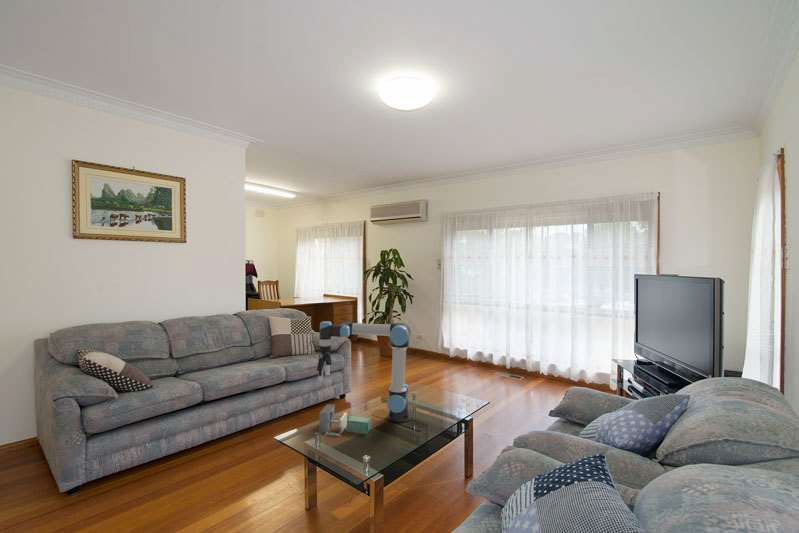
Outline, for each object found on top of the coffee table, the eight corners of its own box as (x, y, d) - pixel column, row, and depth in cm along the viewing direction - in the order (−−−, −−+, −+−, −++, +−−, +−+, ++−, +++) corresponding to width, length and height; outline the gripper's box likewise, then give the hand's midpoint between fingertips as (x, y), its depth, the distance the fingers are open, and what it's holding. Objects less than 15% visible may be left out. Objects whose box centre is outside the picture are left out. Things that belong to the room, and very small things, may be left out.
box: (367, 434, 221) (368, 422, 221) (346, 432, 224) (346, 420, 224) (370, 429, 229) (371, 417, 229) (350, 427, 231) (350, 415, 231)
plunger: (346, 424, 233) (346, 412, 233) (339, 435, 218) (340, 422, 218) (326, 423, 235) (327, 410, 235) (318, 433, 220) (318, 420, 220)
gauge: (347, 424, 234) (348, 406, 234) (340, 436, 218) (341, 416, 218) (326, 423, 236) (326, 404, 236) (317, 434, 220) (318, 414, 220)
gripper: (325, 341, 253) (325, 372, 253) (312, 348, 228) (311, 383, 228) (336, 341, 252) (335, 372, 252) (324, 349, 227) (322, 384, 227)
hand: (324, 377), depth 240 cm, fingers open, 13 cm apart
